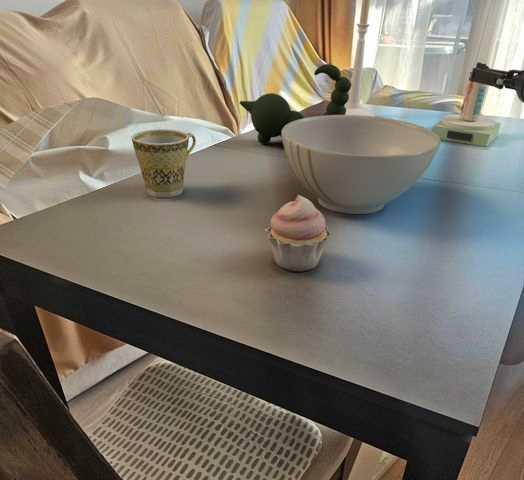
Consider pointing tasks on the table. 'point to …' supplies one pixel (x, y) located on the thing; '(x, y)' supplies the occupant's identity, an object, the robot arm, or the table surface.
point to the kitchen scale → (467, 130)
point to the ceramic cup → (162, 160)
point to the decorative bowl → (358, 159)
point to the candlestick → (358, 67)
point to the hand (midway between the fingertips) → (507, 69)
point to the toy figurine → (279, 113)
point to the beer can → (473, 100)
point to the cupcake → (298, 235)
